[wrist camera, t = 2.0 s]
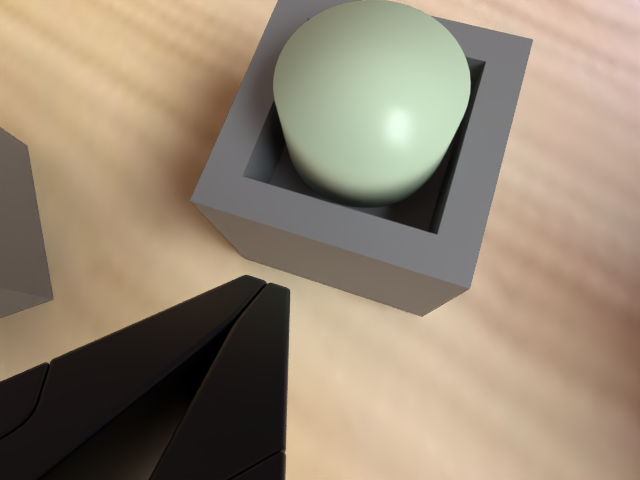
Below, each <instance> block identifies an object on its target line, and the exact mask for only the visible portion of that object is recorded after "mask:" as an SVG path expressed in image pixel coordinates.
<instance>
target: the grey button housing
mask: <svg viewBox="0 0 640 480" xmlns="http://www.w3.org/2000/svg"><path fill="white" fill-rule="evenodd" d="M353 1H360V0H278V2H277V4H276V6H275V8H274V11H273V13H272V15H271V18H270V20H269V22H268V24H267V27H266V29H265V31H264V33H263V36H262V38H261V40H260V43H259V45H258V47H257V49H256V52H255V54H254V56H253V58H252V61H251V63H250V65H249V68H248V70H247V72H246V74H245V77H244V79H243V81H242V83H241V86H240V88H239V90H238V93H237V95H236V97H235V99H234V102H233V104H232V106H231V108H230V111H229V113H228V115H227V118H226V120H225V122H224V124H223V127H222V129H221V131H220V133H219V136H218V138H217V140H216V143H215V145H214V147H213V149H212V152H211V154H210V156H209V158H208V161H207V163H206V165H205V168H204V170H203V172H202V174H201V177H200V179H199V181H198V183H197V186H196V188H195V190H194V193H193V195H192V197H191V199H190V202H191V203H192V204H193V205H194V206H195V207H196V208H197V209H198V210H199V211H200V212H201V213H202V214H203V215H204V216H205V217H206V218H207V219H208V220H209V221H210V222H211V223H212V224H213V226H214V227H215V228H216V229H217V230H218V231H219V232H220V233H221V234H222V235H223V236H224V237H225V238H226V239H227V240H228V241H229V242H230V243H231V244H232V245H233V246H234V247H235V249H236V250H237V251H238V252H239V253H240V254H241V255H242V256H243V257H244V258H245V259H248V260H251V261H254V262H257V263H261V264H264V265H267V266H270V267H273V268H276V269H279V270H282V271H285V272H288V273H291V274H294V275H297V276H300V277H303V278H306V279H309V280H312V281H315V282H318V283H322V284H325V285H328V286H331V287H334V288H337V289H340V290H343V291H346V292H349V293H352V294H355V295H358V296H361V297H364V298H367V299H370V300H373V301H376V302H379V303H383V304H386V305H389V306H392V307H395V308H398V309H401V310H404V311H407V312H410V313H413V314H416V315H419V316H424V315H426V314H428V313H429V312H431V311H433V310H434V309H436V308H438V307H440V306H441V305H443V304H445V303H446V302H448V301H450V300H451V299H453V298H455V297H457V296H458V295H460V294H462V293H463V292H465V291H467V290H469V289H470V286H471V282H472V278H473V274H474V270H475V266H476V262H477V258H478V254H479V251H480V247H481V243H482V239H483V235H484V231H485V227H486V223H487V219H488V215H489V211H490V207H491V203H492V199H493V195H494V191H495V187H496V184H497V180H498V176H499V172H500V168H501V164H502V160H503V156H504V152H505V148H506V144H507V140H508V136H509V132H510V128H511V124H512V121H513V117H514V113H515V109H516V105H517V101H518V97H519V93H520V89H521V85H522V81H523V77H524V73H525V69H526V65H527V61H528V57H529V54H530V50H531V46H532V42H533V39H529V38H524V37H520V36H516V35H511V34H507V33H503V32H498V31H494V30H490V29H485V28H481V27H477V26H472V25H468V24H464V23H459V22H455V21H451V20H446V19H442V18H438V17H433V16H431V17H433V18H434V19H435V20H437V21H438V22H440V23H441V24H442V25H443V26H444V27H445V28H446V29H447V30H448V31H449V32H450V33H451V34H452V35H453V37H454V38H455V39H456V40H457V42H458V44H459V45H460V47H461V49H462V51H463V53H464V55H465V57H466V60H467V63H468V67H469V71H470V81H471V85H470V96H469V101H468V105H467V108H466V111H465V113H464V116H463V118H462V120H461V122H460V124H459V126H458V128H457V130H456V133H455V135H454V137H453V139H452V141H451V143H450V145H449V147H448V149H447V151H446V153H445V155H444V157H443V159H442V161H441V164H440V165H439V167H438V169H437V171H436V172H435V174H434V175H433V176H432V178H431V179H430V180H429V181H428V182H427V183H426V184H425V185H424V186H423V187H422V188H421V189H420V190H418V191H417V192H416V193H415V194H413V195H411V196H409V197H408V198H406V199H404V200H402V201H399V202H397V203H394V204H390V205H387V206H382V207H375V208H359V207H351V206H346V205H342V204H339V203H336V202H333V201H331V200H329V199H327V198H325V197H323V196H321V195H320V194H318V193H317V192H316V191H314V190H313V189H312V188H311V187H309V186H308V185H307V184H306V183H305V182H304V180H303V179H302V178H301V177H300V176H299V174H298V173H297V171H296V169H295V168H294V166H293V164H292V161H291V159H290V156H289V152H288V148H287V145H286V141H285V137H284V133H283V130H282V126H281V122H280V118H279V115H278V111H277V107H276V103H275V100H274V91H273V78H274V72H275V67H276V64H277V61H278V58H279V55H280V53H281V51H282V49H283V47H284V46H285V44H286V43H287V41H288V40H289V39H290V37H291V36H292V35H293V34H294V33H295V32H296V30H297V29H298V28H299V27H301V26H302V25H303V24H304V23H305V22H306V21H308V20H309V19H311V18H312V17H314V16H315V15H317V14H319V13H321V12H323V11H325V10H327V9H329V8H332V7H334V6H337V5H340V4H344V3H348V2H353Z"/></svg>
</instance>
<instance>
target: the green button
mask: <svg viewBox="0 0 640 480" xmlns="http://www.w3.org/2000/svg"><path fill="white" fill-rule="evenodd" d="M470 85H471V81H470V71H469V67H468V63H467V60H466V57H465V55H464V53H463V51H462V49H461V47H460V45H459V44H458V42H457V40H456V39H455V38H454V37H453V35H452V34H451V33H450V32H449V31H448V30H447V29H446V28H445V27H444V26H443V25H442V24H441V23H440V22H438V21H437V20H435V19H434V18H433V17H431V16H430V15H428V14H426V13H424V12H422V11H421V10H418V9H416V8H413V7H411V6H408V5H404V4H401V3H397V2H391V1H385V0H360V1H353V2H348V3H344V4H340V5H337V6H334V7H332V8H329V9H327V10H325V11H323V12H321V13H319V14H317V15H315V16H314V17H312V18H311V19H309V20H308V21H306V22H305V23H304V24H303V25H302V26H301V27H299V28H298V29H297V30H296V32H295V33H294V34H293V35H292V36H291V37H290V39H289V40H288V41H287V43H286V44H285V46H284V47H283V49H282V51H281V53H280V55H279V58H278V61H277V64H276V67H275V72H274V78H273V91H274V100H275V103H276V107H277V111H278V115H279V118H280V122H281V126H282V130H283V133H284V137H285V141H286V145H287V148H288V152H289V156H290V159H291V161H292V164H293V166H294V168H295V169H296V171H297V173H298V174H299V176H300V177H301V178H302V179H303V180H304V182H305V183H306V184H307V185H308V186H309V187H311V188H312V189H313V190H314V191H316V192H317V193H318V194H320V195H321V196H323V197H325V198H327V199H329V200H331V201H333V202H336V203H339V204H342V205H346V206H351V207H359V208H375V207H382V206H387V205H390V204H394V203H397V202H399V201H402V200H404V199H406V198H408V197H409V196H411V195H413V194H415V193H416V192H417V191H418V190H420V189H421V188H422V187H423V186H424V185H425V184H426V183H427V182H428V181H429V180H430V179H431V178H432V176H433V175H434V174H435V172H436V171H437V169H438V167H439V165H440V164H441V161H442V159H443V157H444V155H445V153H446V151H447V149H448V147H449V145H450V143H451V141H452V139H453V137H454V135H455V133H456V130H457V128H458V126H459V124H460V122H461V120H462V118H463V116H464V113H465V111H466V108H467V105H468V101H469V96H470Z"/></svg>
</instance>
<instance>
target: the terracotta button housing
mask: <svg viewBox="0 0 640 480" xmlns="http://www.w3.org/2000/svg"><path fill="white" fill-rule="evenodd" d="M50 300H53V294H52V288H51V282H50V277H49V271H48V265H47V259H46V253H45V247H44V241H43V236H42V230H41V224H40V218H39V212H38V206H37V201H36V195H35V189H34V183H33V177H32V171H31V166H30V160H29V154H28V148H27V145H25V144H24V143H22V142H21V141H19V140H18V139H16V138H15V137H14V136H12V135H11V134H9V133H8V132H6V131H5V130H3V129H2V128H0V318H1V317H4V316H7V315H10V314H13V313H16V312H19V311H22V310H24V309H27V308H30V307H33V306H36V305H39V304H42V303H45V302H47V301H50Z"/></svg>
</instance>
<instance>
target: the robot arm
mask: <svg viewBox="0 0 640 480" xmlns="http://www.w3.org/2000/svg"><path fill="white" fill-rule="evenodd" d="M289 319H290V290H289V289H288V288H286V287H283V286H280V285H277V284H274V283H268V284H267V283H266V281H264V280H261V279H258V278H255V277H252V276H249V275H244V276H241V277H239V278H237V279H234V280H232V281H230V282H227V283H225V284H223V285H221V286H218V287H216V288H214V289H211V290H209V291H207V292H205V293H202V294H200V295H198V296H196V297H193V298H191V299H189V300H186V301H184V302H182V303H180V304H177V305H175V306H173V307H170V308H168V309H166V310H164V311H161V312H159V313H157V314H155V315H152V316H150V317H148V318H145V319H143V320H141V321H139V322H136V323H134V324H132V325H129V326H127V327H125V328H123V329H120V330H118V331H116V332H114V333H111V334H109V335H107V336H104V337H102V338H100V339H98V340H95V341H93V342H91V343H88V344H86V345H84V346H82V347H79V348H77V349H75V350H73V351H70V352H68V353H66V354H63V355H61V356H59V357H57V358H54V359H52V361H51V362H50V364H49V363H47V362H45V363H42V364H40V365H38V366H36V367H33V368H31V369H29V370H27V371H24V372H22V373H20V374H17V375H15V376H13V377H10V378H8V379H5V380H3V381H1V382H0V480H285V473H286V454H285V451H286V427H287V391H288V355H289Z"/></svg>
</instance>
